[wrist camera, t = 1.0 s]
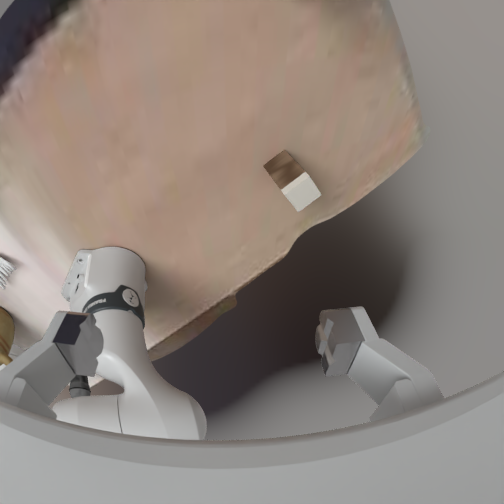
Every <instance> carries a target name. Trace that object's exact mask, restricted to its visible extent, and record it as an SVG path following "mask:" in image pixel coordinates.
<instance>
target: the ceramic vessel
mask: <svg viewBox="0 0 504 504" xmlns="http://www.w3.org/2000/svg"><path fill="white" fill-rule="evenodd" d="M13 339H14V323H13V320H12V318H11V316H10V315H9V314H8V313H7V312H6V311H5V310H4V309H2V308H1V307H0V366H1V365H2V364H5V365H6V366H7V365H8V364H9V363H11V362H12V361H13V359H12V358H11V357H9V356H8V355H9V353H10V350H11V347H12V344H13Z"/></svg>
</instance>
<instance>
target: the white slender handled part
mask: <svg viewBox="0 0 504 504" xmlns="http://www.w3.org/2000/svg"><path fill="white" fill-rule="evenodd" d="M13 270H16V267H15V266H14V265H13V264H11V263H10V262H8V261H6V260H5V259H3V258H1V257H0V287H1V288H3V289H5V286H4V285H3V284H5V285H6V282H5V281H4V280H6V281H7V279H6V277H5V276H4V275H3V274H5V275H6V276H8V277H9V274H8V273H7V271H8V272H9V273H11V271H12V272H13ZM11 274H12V273H11ZM3 279H4V280H3Z"/></svg>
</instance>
